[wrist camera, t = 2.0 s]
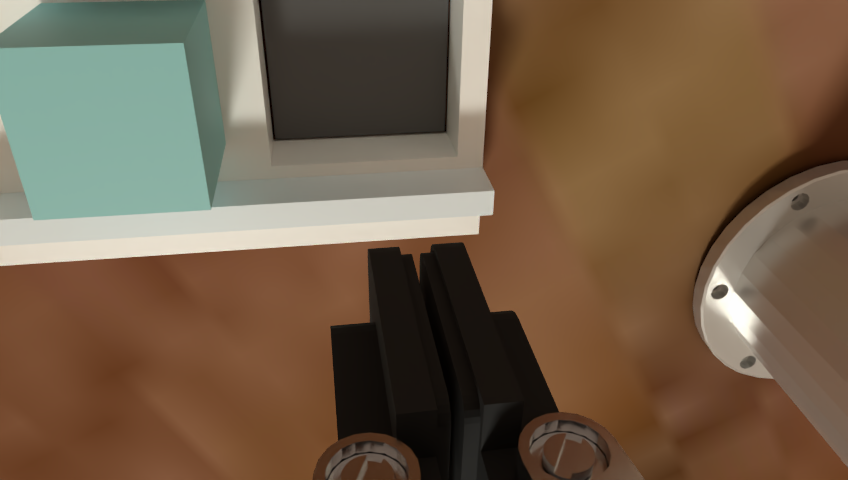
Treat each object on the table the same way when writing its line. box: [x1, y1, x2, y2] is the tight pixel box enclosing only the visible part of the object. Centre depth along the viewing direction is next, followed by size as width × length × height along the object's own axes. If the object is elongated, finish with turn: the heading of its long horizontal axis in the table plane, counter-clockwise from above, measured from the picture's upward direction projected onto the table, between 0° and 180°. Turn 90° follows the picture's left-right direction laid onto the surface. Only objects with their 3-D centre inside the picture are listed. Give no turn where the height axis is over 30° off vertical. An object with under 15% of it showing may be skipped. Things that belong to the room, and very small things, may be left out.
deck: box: [0, 0, 494, 266], centre depth 24 cm, size 28×14×4 cm, turn 89°
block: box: [0, 0, 226, 220], centre depth 22 cm, size 5×5×5 cm
